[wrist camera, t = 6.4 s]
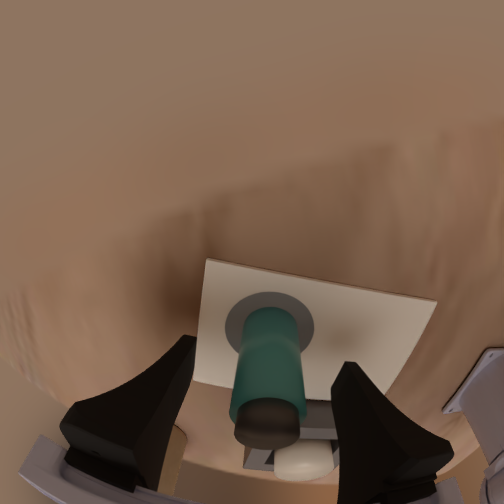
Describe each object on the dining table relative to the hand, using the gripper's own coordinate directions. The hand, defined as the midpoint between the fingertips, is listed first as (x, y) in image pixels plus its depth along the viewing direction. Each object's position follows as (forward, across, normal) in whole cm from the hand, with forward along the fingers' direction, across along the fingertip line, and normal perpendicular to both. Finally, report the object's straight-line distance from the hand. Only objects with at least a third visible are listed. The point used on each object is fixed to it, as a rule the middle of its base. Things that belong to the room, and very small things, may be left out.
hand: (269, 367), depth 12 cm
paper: (+3, -3, +1) cm, 5 cm away
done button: (+2, -5, +10) cm, 11 cm away
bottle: (+3, 0, 0) cm, 3 cm away
